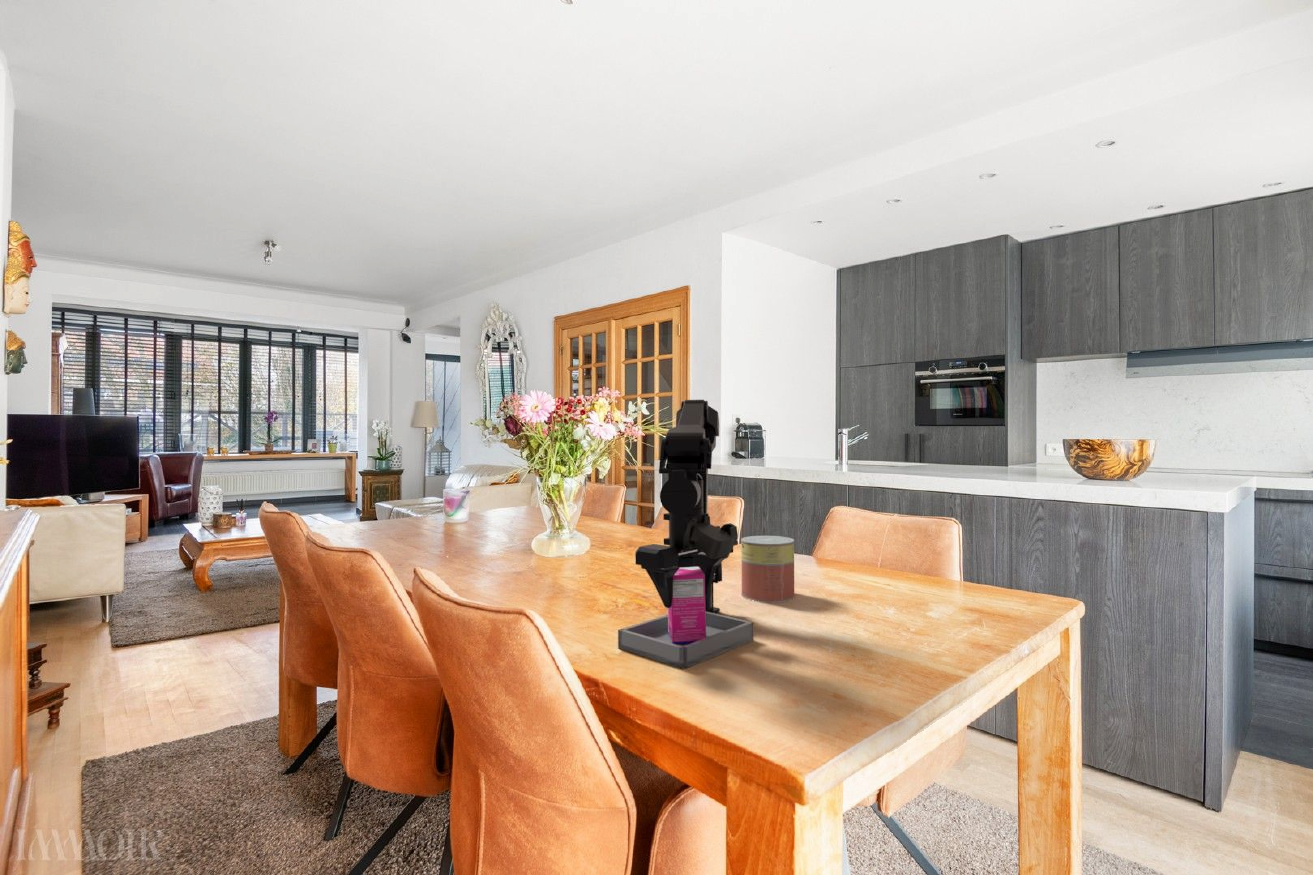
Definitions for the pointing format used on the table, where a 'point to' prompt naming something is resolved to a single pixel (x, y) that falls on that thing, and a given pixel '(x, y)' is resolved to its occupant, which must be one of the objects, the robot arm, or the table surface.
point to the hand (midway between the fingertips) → (686, 601)
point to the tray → (658, 645)
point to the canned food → (767, 568)
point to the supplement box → (687, 607)
